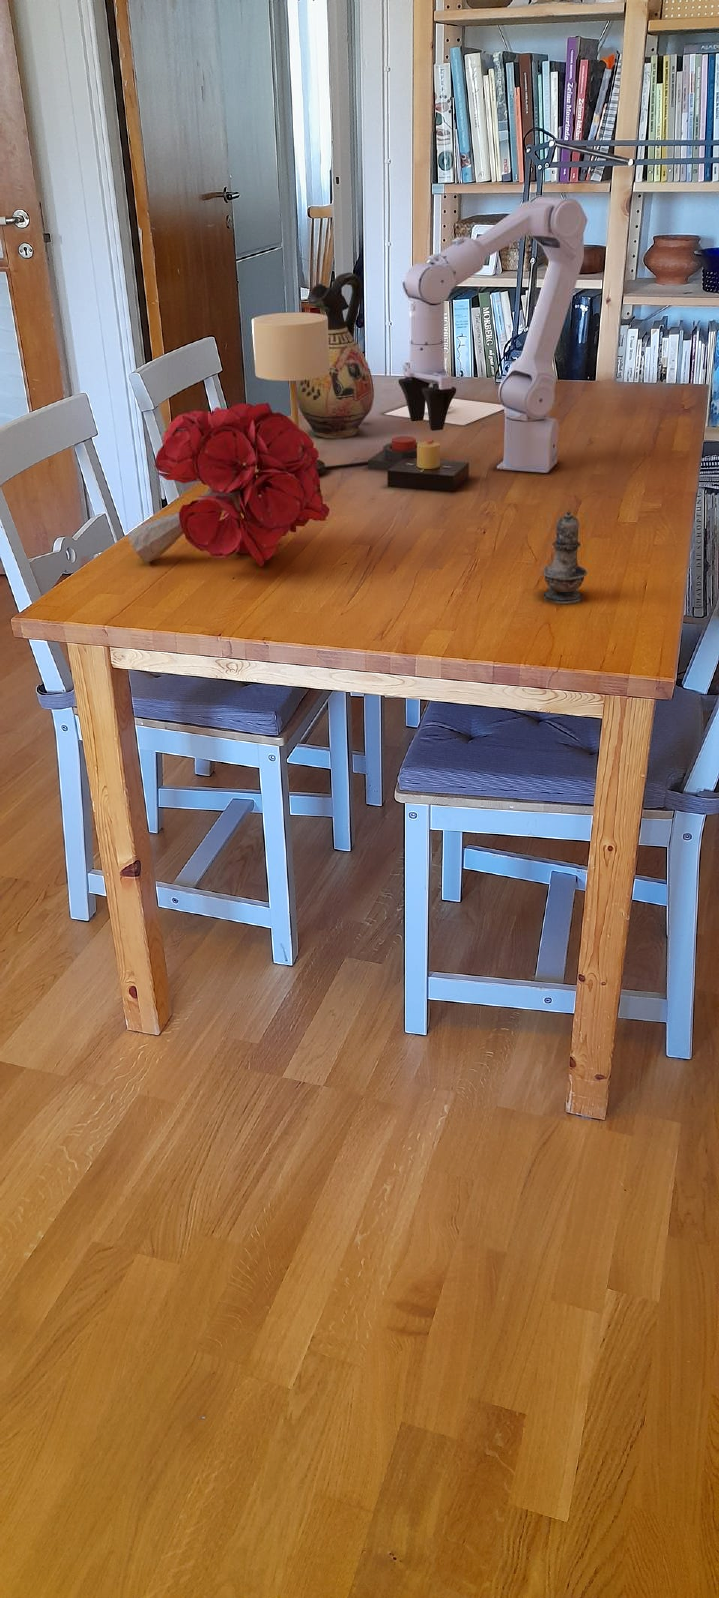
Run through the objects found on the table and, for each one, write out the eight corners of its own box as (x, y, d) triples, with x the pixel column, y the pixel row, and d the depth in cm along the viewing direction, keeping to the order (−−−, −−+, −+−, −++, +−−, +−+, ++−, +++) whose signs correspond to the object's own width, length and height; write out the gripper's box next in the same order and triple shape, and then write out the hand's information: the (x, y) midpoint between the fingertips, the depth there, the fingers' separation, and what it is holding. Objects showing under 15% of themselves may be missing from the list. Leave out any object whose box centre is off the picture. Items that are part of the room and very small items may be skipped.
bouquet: (168, 634, 171) (347, 528, 163) (68, 491, 162) (252, 372, 155) (193, 590, 190) (354, 493, 182) (105, 460, 182) (270, 353, 174)
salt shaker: (536, 590, 164) (541, 503, 158) (579, 587, 164) (585, 501, 158) (546, 605, 159) (551, 517, 153) (589, 603, 159) (596, 514, 153)
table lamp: (376, 463, 222) (373, 311, 209) (342, 487, 209) (337, 327, 196) (288, 456, 228) (280, 308, 215) (250, 479, 215) (238, 323, 202)
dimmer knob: (435, 469, 206) (436, 445, 204) (414, 467, 208) (413, 444, 206) (442, 463, 210) (443, 439, 208) (421, 462, 211) (421, 438, 209)
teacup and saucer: (431, 404, 263) (431, 385, 261) (462, 408, 259) (462, 389, 256) (409, 412, 257) (409, 393, 255) (440, 417, 252) (440, 397, 250)
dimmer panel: (468, 479, 212) (469, 461, 210) (453, 493, 205) (453, 474, 203) (404, 473, 216) (404, 456, 214) (387, 487, 209) (387, 469, 207)
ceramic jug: (332, 447, 233) (326, 281, 218) (283, 433, 244) (274, 274, 228) (396, 431, 243) (395, 271, 228) (346, 419, 253) (342, 265, 238)
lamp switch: (419, 446, 220) (419, 436, 219) (411, 452, 216) (411, 442, 215) (396, 444, 221) (396, 435, 220) (388, 450, 218) (388, 441, 217)
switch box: (438, 462, 222) (439, 443, 220) (425, 473, 215) (425, 454, 214) (383, 458, 225) (383, 439, 224) (368, 469, 219) (367, 449, 217)
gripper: (386, 337, 204) (388, 419, 210) (424, 351, 192) (424, 436, 199) (423, 333, 206) (423, 414, 213) (463, 346, 194) (462, 431, 201)
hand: (426, 425), depth 206 cm, fingers open, 7 cm apart
